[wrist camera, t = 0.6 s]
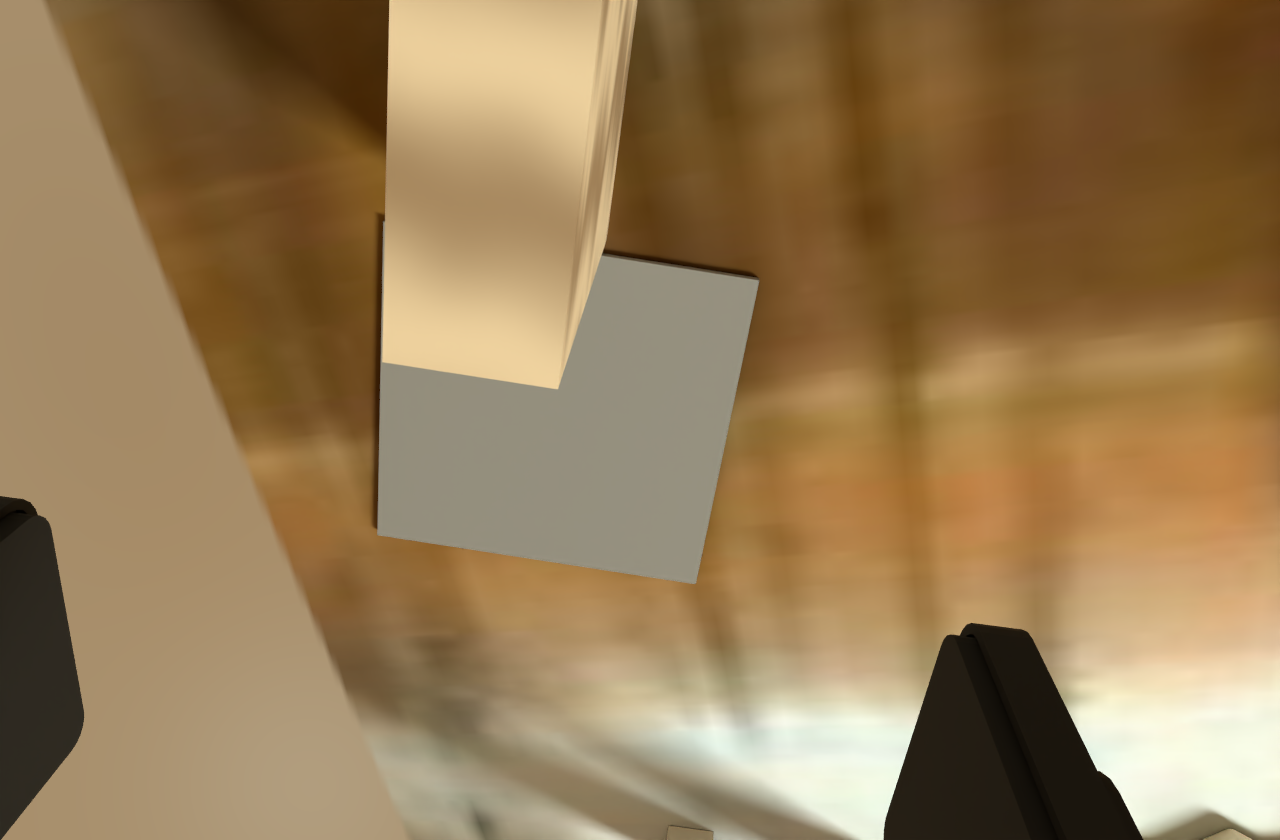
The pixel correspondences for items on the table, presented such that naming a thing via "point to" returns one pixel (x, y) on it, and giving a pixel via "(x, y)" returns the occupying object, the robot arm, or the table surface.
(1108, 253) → the table surface
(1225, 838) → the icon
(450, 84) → the slab
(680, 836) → the stool
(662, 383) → the mat
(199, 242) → the table surface
